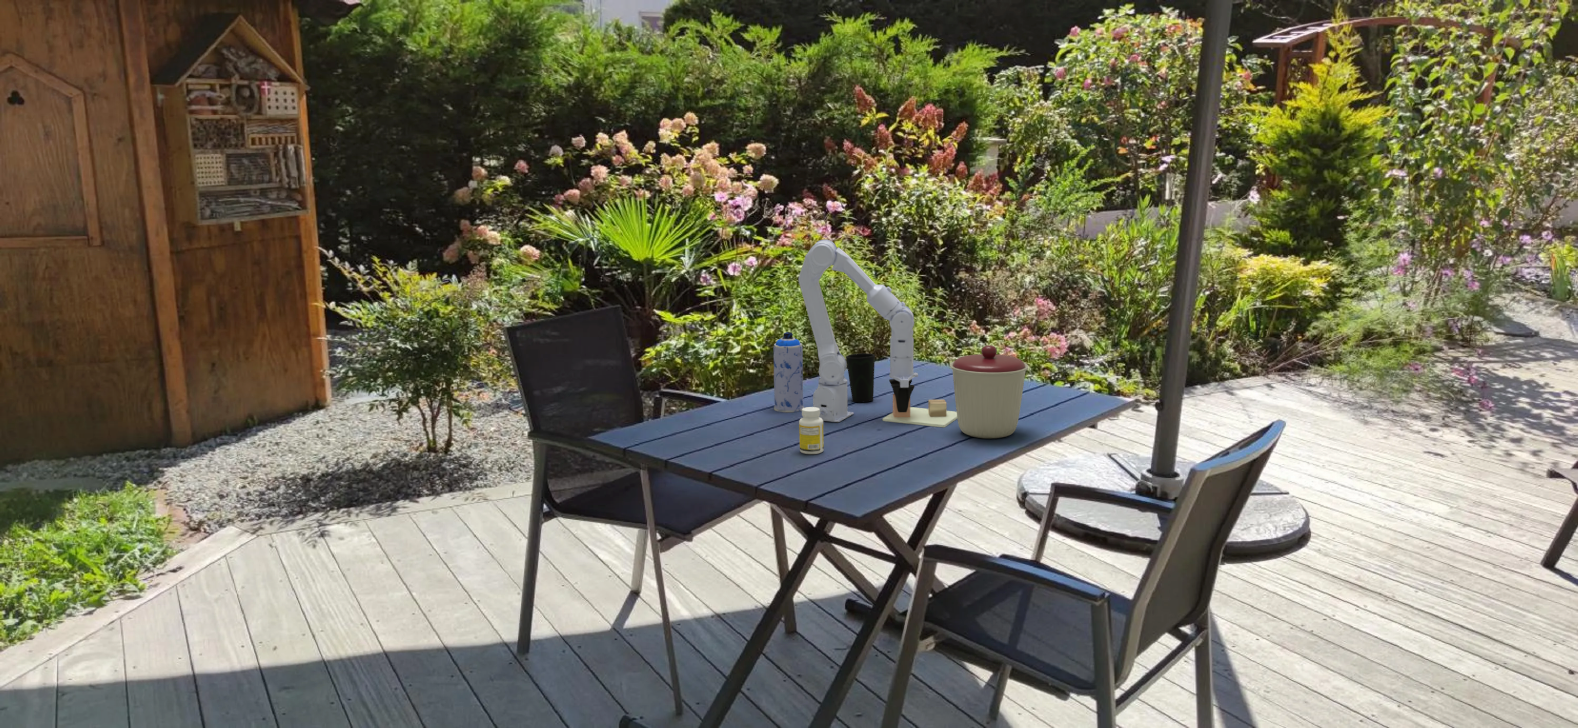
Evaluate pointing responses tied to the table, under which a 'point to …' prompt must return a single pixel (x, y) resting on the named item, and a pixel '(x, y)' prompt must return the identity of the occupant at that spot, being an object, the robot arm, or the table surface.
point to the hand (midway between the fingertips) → (901, 409)
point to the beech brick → (937, 408)
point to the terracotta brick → (895, 410)
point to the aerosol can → (788, 374)
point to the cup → (861, 376)
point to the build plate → (923, 418)
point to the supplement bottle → (811, 431)
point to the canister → (988, 393)
